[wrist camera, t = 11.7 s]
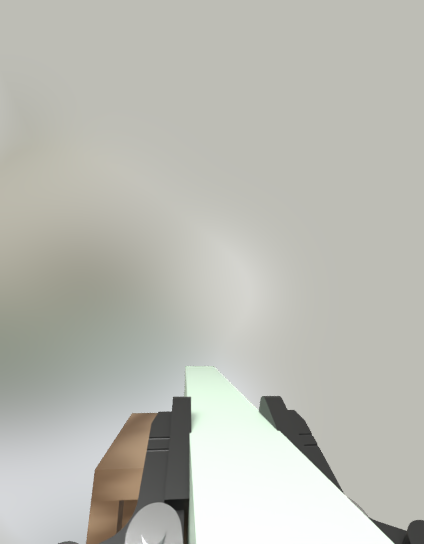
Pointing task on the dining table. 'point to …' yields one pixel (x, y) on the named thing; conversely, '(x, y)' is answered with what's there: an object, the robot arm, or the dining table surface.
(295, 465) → the sage bar
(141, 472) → the walnut shelf
